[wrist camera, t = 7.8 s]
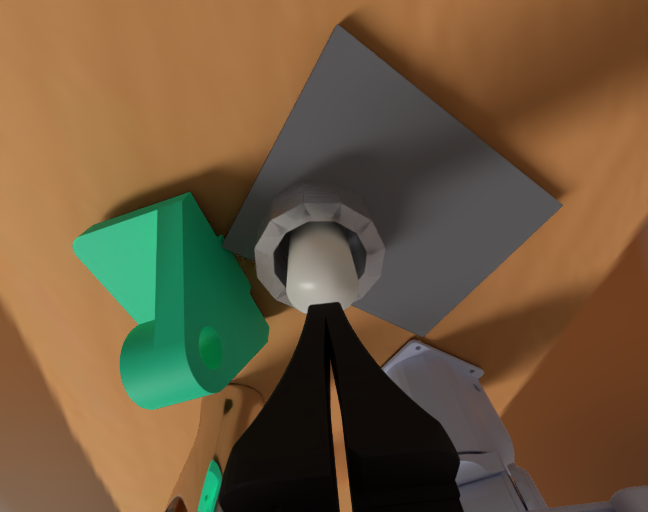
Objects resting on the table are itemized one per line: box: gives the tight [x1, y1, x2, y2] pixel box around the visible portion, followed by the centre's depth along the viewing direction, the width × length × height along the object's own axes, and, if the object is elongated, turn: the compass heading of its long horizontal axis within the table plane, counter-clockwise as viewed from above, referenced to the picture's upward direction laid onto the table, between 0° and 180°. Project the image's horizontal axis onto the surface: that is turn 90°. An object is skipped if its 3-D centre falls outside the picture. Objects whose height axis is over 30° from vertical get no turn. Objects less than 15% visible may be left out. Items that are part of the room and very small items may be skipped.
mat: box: [222, 24, 563, 337], centre depth 21 cm, size 18×14×1 cm
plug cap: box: [286, 221, 359, 314], centre depth 18 cm, size 4×4×6 cm
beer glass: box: [164, 384, 264, 512], centre depth 25 cm, size 7×7×15 cm
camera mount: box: [72, 192, 269, 410], centre depth 19 cm, size 12×8×10 cm, turn 18°
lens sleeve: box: [254, 180, 385, 309], centre depth 19 cm, size 7×7×4 cm
